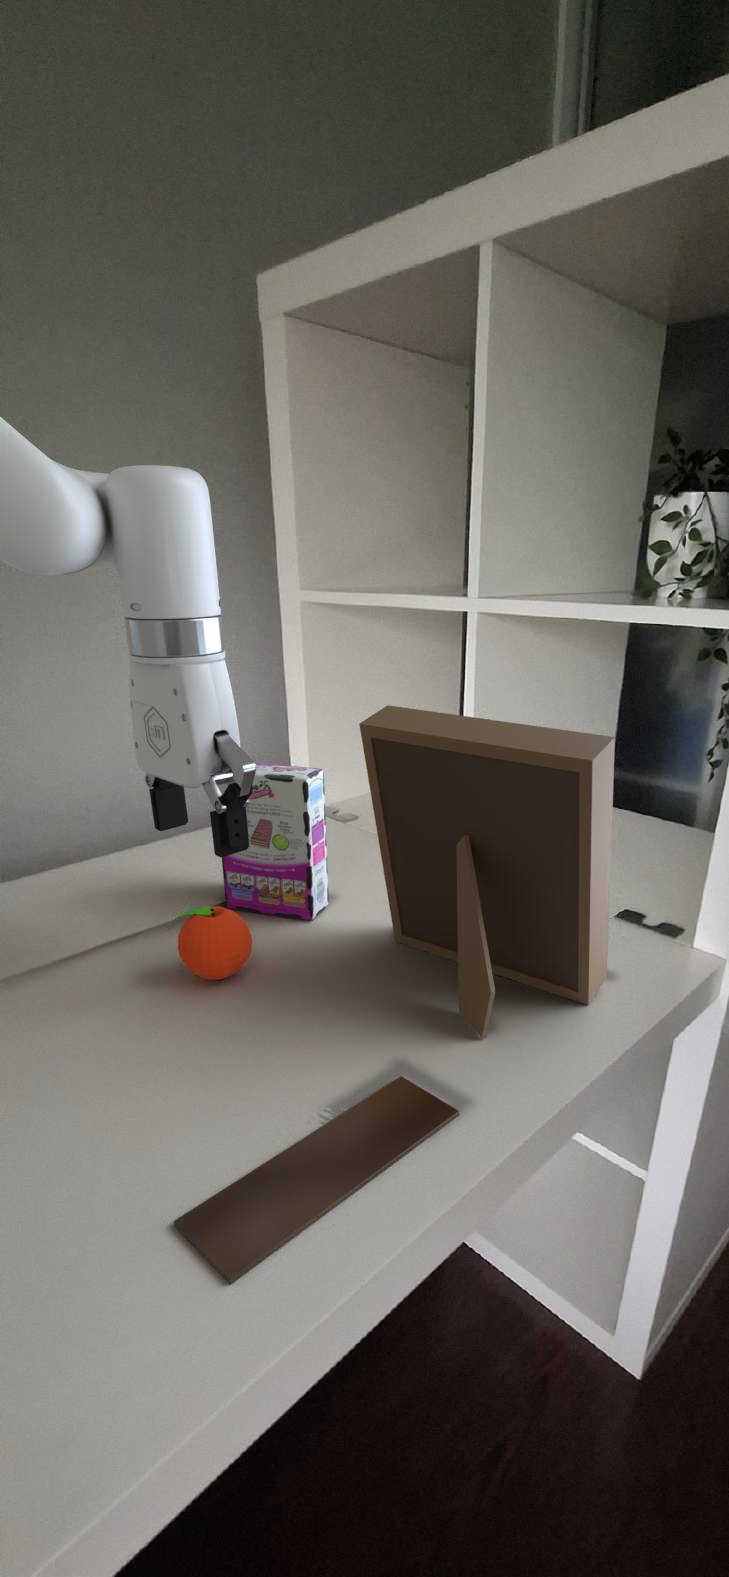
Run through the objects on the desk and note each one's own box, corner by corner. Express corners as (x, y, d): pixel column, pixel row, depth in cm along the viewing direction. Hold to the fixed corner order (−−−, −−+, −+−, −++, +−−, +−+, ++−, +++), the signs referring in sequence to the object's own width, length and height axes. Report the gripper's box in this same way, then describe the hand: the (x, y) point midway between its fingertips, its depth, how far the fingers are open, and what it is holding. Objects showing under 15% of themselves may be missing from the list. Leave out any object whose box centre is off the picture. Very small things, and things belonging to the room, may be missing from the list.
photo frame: (417, 927, 86) (421, 696, 75) (605, 985, 74) (639, 725, 64) (331, 983, 74) (322, 721, 64) (537, 1062, 63) (566, 760, 53)
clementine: (158, 989, 73) (149, 921, 70) (188, 954, 79) (180, 890, 76) (240, 996, 72) (234, 927, 69) (263, 960, 78) (259, 895, 75)
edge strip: (173, 1225, 48) (173, 1221, 47) (401, 1079, 61) (401, 1075, 61) (230, 1284, 44) (230, 1279, 44) (459, 1115, 57) (459, 1110, 57)
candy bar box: (330, 904, 91) (326, 767, 84) (313, 922, 86) (307, 779, 80) (244, 892, 94) (234, 758, 87) (223, 908, 89) (210, 769, 83)
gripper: (82, 636, 66) (115, 828, 73) (194, 653, 55) (220, 876, 62) (162, 630, 71) (185, 809, 78) (279, 644, 60) (294, 851, 67)
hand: (201, 839), depth 70 cm, fingers open, 9 cm apart
